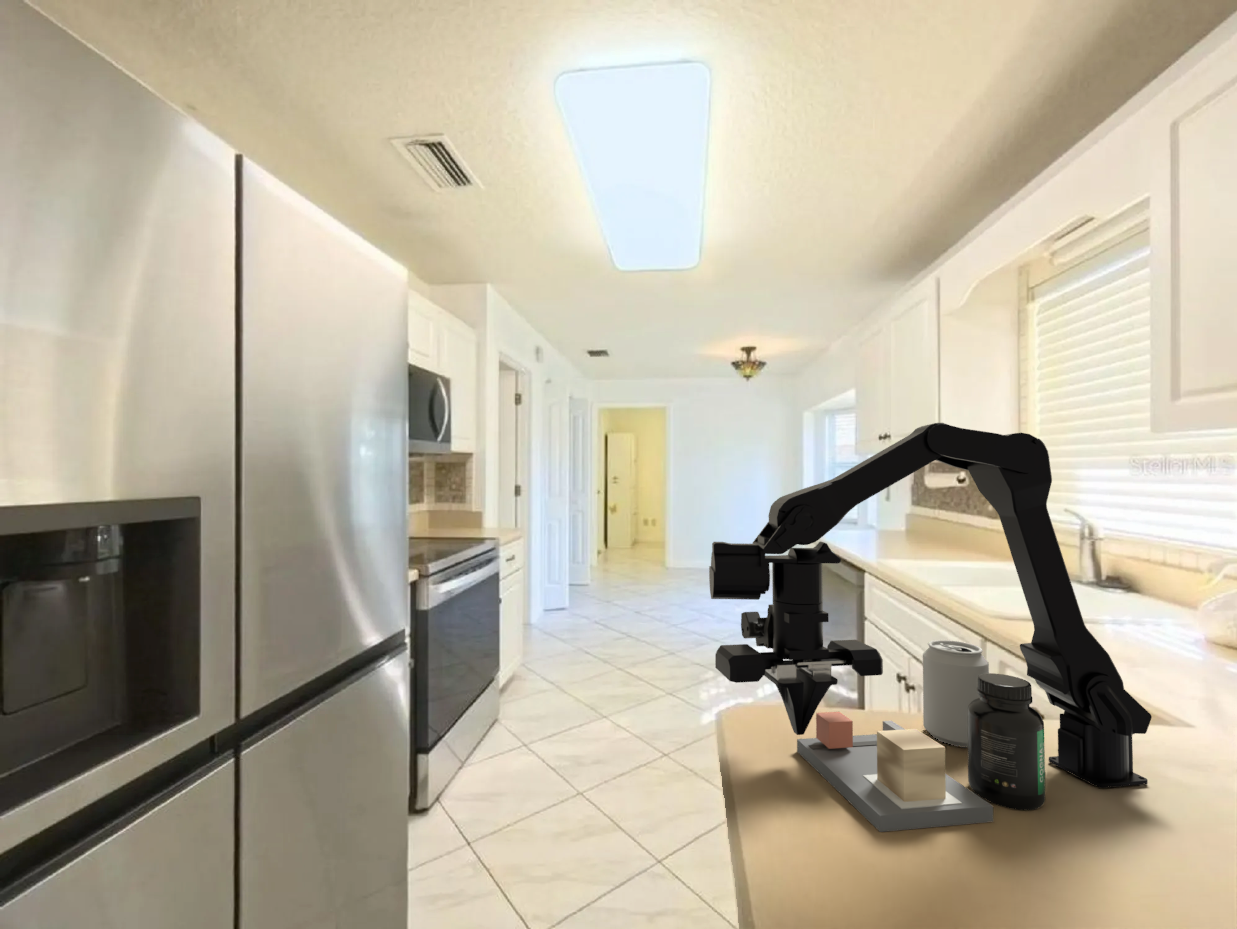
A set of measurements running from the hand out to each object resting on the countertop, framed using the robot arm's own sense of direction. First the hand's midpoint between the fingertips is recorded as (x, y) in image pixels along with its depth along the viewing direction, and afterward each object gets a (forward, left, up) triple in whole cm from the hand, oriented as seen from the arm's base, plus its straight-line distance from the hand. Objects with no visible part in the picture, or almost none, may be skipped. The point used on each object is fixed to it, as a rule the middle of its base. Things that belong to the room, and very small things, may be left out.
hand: (798, 733), depth 70 cm
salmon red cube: (-5, 0, -1) cm, 5 cm away
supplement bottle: (-18, +10, -4) cm, 21 cm away
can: (-24, -4, -4) cm, 24 cm away
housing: (-7, +10, -2) cm, 13 cm away
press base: (-7, +6, -3) cm, 10 cm away
